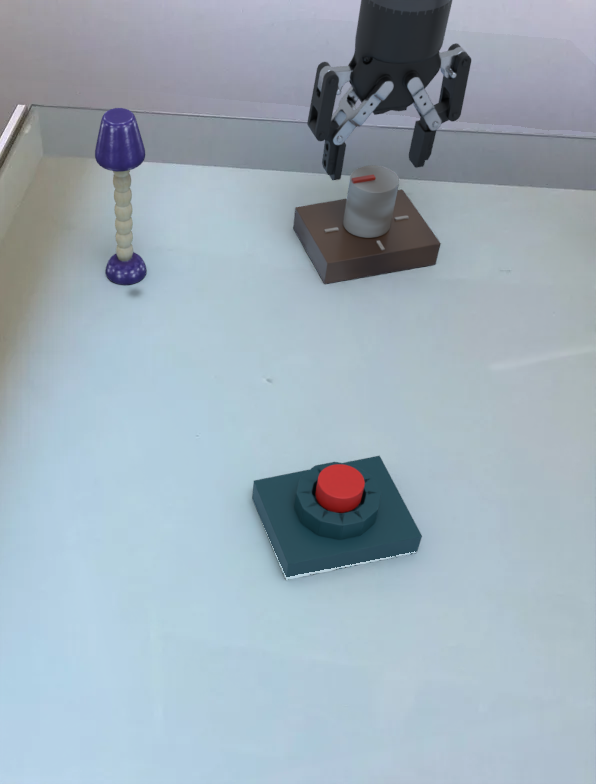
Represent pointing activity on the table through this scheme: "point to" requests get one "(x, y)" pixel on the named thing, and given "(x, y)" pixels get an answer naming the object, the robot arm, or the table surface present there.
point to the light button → (339, 488)
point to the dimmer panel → (364, 241)
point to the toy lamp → (121, 188)
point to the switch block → (334, 520)
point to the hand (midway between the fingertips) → (374, 169)
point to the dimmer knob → (370, 201)
